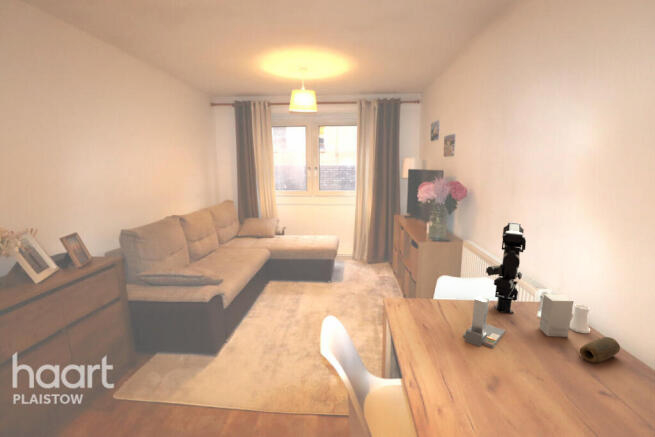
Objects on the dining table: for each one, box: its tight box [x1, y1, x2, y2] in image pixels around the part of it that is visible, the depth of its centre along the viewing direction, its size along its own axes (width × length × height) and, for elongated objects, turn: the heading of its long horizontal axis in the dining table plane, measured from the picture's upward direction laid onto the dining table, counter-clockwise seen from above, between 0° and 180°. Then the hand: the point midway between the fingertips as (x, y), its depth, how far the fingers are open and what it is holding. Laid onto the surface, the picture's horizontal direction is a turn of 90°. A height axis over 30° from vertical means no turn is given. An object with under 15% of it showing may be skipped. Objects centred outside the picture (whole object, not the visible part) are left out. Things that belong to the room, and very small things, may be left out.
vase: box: [569, 303, 591, 334], centre depth 133 cm, size 8×8×10 cm
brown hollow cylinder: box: [579, 336, 621, 363], centre depth 113 cm, size 15×7×7 cm, turn 118°
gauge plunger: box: [471, 295, 495, 341], centre depth 121 cm, size 5×9×15 cm, turn 47°
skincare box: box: [538, 293, 574, 338], centre depth 129 cm, size 8×7×16 cm
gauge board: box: [462, 323, 506, 349], centre depth 126 cm, size 19×11×4 cm, turn 137°
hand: (505, 297), depth 134 cm, fingers closed
